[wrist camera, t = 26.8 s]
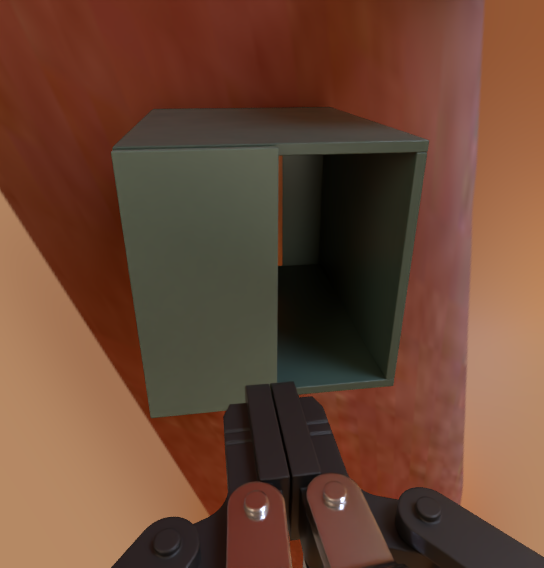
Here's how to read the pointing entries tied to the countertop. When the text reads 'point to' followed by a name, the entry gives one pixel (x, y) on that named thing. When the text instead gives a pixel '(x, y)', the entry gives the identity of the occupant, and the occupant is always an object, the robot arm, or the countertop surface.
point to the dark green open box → (324, 231)
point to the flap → (202, 271)
